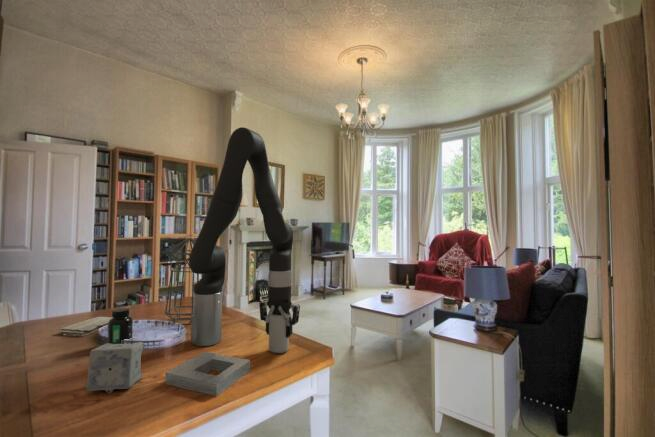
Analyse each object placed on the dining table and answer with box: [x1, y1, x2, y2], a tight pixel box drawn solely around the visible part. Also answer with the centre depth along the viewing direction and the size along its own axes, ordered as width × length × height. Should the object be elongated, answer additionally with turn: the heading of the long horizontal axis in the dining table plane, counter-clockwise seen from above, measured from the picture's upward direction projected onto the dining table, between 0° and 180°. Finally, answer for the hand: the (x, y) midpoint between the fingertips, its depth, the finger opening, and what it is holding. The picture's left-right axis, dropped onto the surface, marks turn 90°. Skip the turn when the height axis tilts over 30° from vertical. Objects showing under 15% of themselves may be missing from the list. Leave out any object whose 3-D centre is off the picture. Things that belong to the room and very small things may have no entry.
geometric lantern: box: [163, 237, 204, 326], centre depth 132 cm, size 16×16×35 cm
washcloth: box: [58, 316, 113, 337], centre depth 122 cm, size 12×18×3 cm, turn 170°
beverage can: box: [268, 314, 290, 354], centre depth 103 cm, size 6×6×12 cm
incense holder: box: [85, 341, 144, 394], centre depth 80 cm, size 10×8×10 cm
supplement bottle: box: [107, 307, 134, 344], centre depth 106 cm, size 7×7×12 cm
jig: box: [165, 351, 251, 397], centre depth 85 cm, size 16×14×3 cm
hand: (278, 335), depth 103 cm, fingers closed on beverage can, 6 cm apart
